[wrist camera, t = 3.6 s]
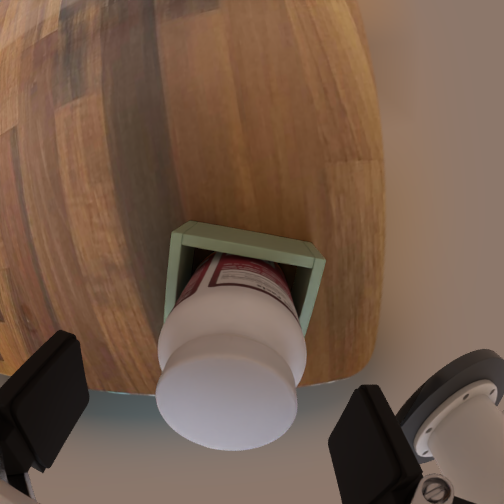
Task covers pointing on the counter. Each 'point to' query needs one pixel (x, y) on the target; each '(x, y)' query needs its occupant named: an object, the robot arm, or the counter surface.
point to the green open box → (248, 246)
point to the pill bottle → (231, 355)
